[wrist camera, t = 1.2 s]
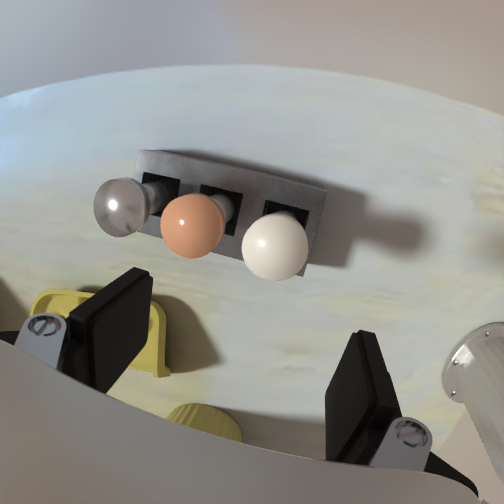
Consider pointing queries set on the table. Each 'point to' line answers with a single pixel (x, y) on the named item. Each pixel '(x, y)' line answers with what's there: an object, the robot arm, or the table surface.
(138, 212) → the grey plunger
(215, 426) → the potted cactus
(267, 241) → the ivory plunger
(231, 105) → the table surface
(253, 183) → the grey socket block
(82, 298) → the plastic component
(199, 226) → the terracotta plunger
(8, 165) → the table surface
